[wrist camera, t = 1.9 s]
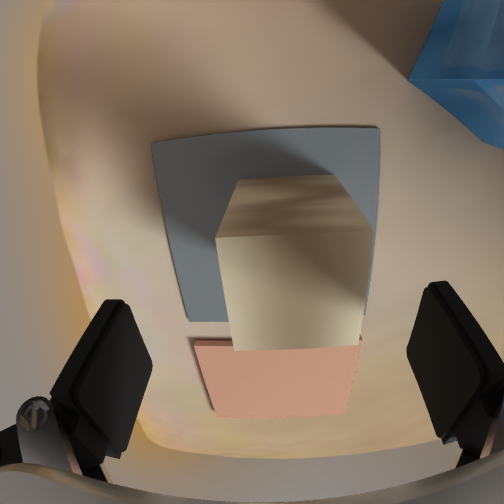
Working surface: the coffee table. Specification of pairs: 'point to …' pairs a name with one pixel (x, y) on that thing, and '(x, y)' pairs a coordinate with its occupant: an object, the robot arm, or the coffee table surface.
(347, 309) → the maple block
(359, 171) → the gray tile
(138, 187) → the coffee table surface
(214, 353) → the pad
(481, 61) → the perfume bottle
